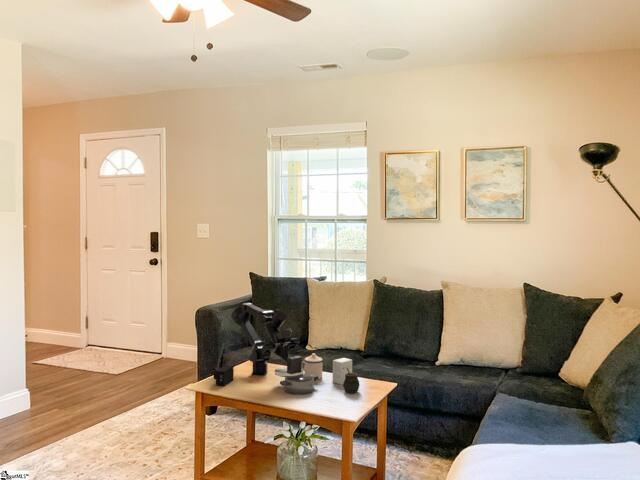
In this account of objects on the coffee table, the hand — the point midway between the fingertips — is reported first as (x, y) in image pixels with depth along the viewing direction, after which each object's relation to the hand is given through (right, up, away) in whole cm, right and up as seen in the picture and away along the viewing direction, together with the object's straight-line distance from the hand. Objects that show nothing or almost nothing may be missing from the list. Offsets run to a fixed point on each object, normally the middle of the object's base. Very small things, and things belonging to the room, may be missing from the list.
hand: (287, 361), depth 252 cm
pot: (+6, -11, -7) cm, 14 cm away
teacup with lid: (+10, -11, +14) cm, 21 cm away
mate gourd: (+29, -12, -8) cm, 32 cm away
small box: (+25, -12, +7) cm, 29 cm away
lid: (+1, -5, -1) cm, 5 cm away
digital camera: (-30, -11, +2) cm, 32 cm away
